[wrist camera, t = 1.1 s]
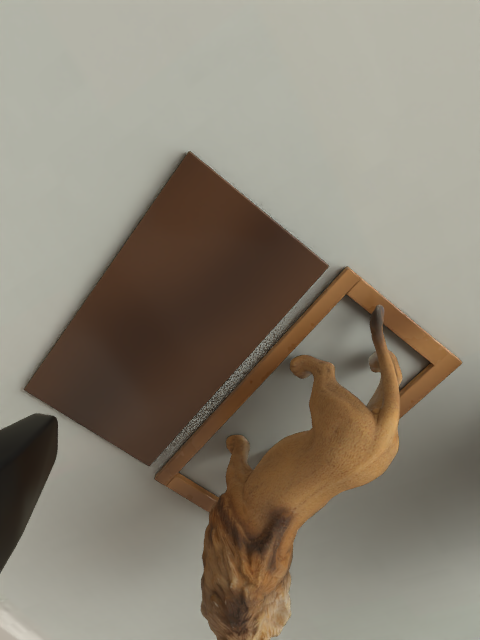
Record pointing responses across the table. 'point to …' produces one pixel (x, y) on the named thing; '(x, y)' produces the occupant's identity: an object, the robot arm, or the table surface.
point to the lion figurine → (293, 493)
